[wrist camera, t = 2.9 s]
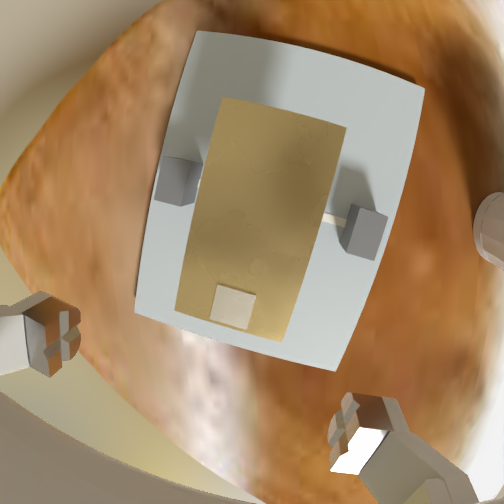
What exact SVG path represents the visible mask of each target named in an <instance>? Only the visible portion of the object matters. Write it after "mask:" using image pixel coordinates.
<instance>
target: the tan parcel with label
mask: <svg viewBox="0 0 504 504" xmlns="http://www.w3.org/2000/svg"><path fill="white" fill-rule="evenodd" d="M346 129H347V127H344V126H341V125H337V124H334V123H331V122H327V121H324V120H321V119H317V118H314V117H310V116H306V115H303V114H299V113H295V112H291V111H287V110H283V109H279V108H275V107H271V106H266V105H262V104H258V103H253V102H248V101H243V100H238V99H233V98H228V97H222V100H221V104H220V108H219V111H218V115H217V118H216V122H215V126H214V130H213V133H212V137H211V141H210V145H209V149H208V153H207V157H206V161H205V165H204V169H203V173H202V177H201V181H200V186H199V190H198V194H197V199H196V203H195V207H194V212H193V216H192V221H191V226H190V230H189V235H188V240H187V245H186V250H185V255H184V260H183V265H182V270H181V275H180V281H179V286H178V291H177V297H176V303H175V308H174V311H177V312H180V313H183V314H186V315H189V316H192V317H195V318H199V319H202V320H205V321H208V322H211V323H215V324H218V325H221V326H224V327H228V328H231V329H234V330H238V331H241V332H245V333H248V334H252V335H255V336H259V337H262V338H266V339H270V340H273V341H277V342H281V343H282V341H283V338H284V336H285V333H286V330H287V327H288V324H289V321H290V318H291V315H292V312H293V309H294V307H295V304H296V301H297V298H298V295H299V291H300V288H301V285H302V282H303V279H304V276H305V273H306V270H307V267H308V264H309V260H310V257H311V254H312V251H313V247H314V244H315V241H316V238H317V234H318V231H319V228H320V224H321V221H322V218H323V214H324V211H325V207H326V204H327V200H328V197H329V193H330V190H331V186H332V182H333V179H334V175H335V171H336V168H337V164H338V160H339V156H340V153H341V149H342V145H343V141H344V137H345V133H346Z"/></svg>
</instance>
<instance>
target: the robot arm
mask: <svg viewBox="0 0 504 504" xmlns="http://www.w3.org/2000/svg"><path fill="white" fill-rule="evenodd" d="M80 322H81V320H80V311H79V309H78V308H76V307H74V306H72V305H70V304H68V303H66V302H64V301H62V300H60V299H58V298H56V297H54V296H52V295H50V294H48V293H46V292H42V291H39V292H37V293H35V294H33V295H31V296H29V297H27V298H25V299H23V300H22V301H20V302H18V303H16V304H14V305H12V306H10V307H9V306H8V305H0V375H4V374H8V373H11V372H15V371H18V370H22V369H26V368H29V366H30V367H32V368H34V369H35V370H37V371H39V372H41V373H42V374H44V375H46V376H48V377H51V376H52V375H53V374H55V373H56V372H57V371H58V370H59V369H60V368H62V361H67V360H71V359H72V358H73V357H74V356H75V354H76V353H77V351H78V349H79V346H80V341H81V334H80V332H79V330H78V328H77V325H78V324H79V323H80ZM341 406H342V410H340V411H339V412H337V413H335V415H334V417H333V418H332V420H331V423H330V426H329V430H328V443H329V444H330V446H331V447H332V448H333V449H332V450H331V452H330V453H329V458H330V468H331V471H337V472H345V473H354V474H358V476H359V478H360V479H361V480H362V482H363V483H364V484H365V486H366V487H367V488H368V490H369V491H370V492H371V494H372V495H373V496H374V498H375V499H376V500H377V501H378V503H379V504H504V497H500V498H497V499H492V500H488V501H484V502H479V501H478V498H477V496H476V494H475V491H474V489H473V487H472V484H471V482H470V480H469V478H468V475H467V474H465V473H464V472H463V471H462V470H460V469H459V468H458V467H456V466H455V465H454V464H453V463H451V462H450V461H449V460H447V459H446V458H445V457H444V456H442V455H441V454H440V453H439V452H437V451H436V450H435V449H434V448H432V447H431V446H430V445H429V444H427V443H426V442H425V441H424V440H422V439H421V438H420V437H419V436H417V435H416V434H415V433H410V431H409V428H408V426H407V423H406V421H405V418H404V416H403V413H402V411H401V409H400V406H399V404H398V401H397V400H396V399H395V398H390V397H381V396H379V397H378V396H371V395H364V394H358V393H351V392H348V393H347V394H346V395H345V396H344V398H343V400H342V402H341ZM0 504H255V503H249V502H245V501H240V500H236V499H231V498H227V497H223V496H219V495H215V494H212V493H208V492H204V491H200V490H197V489H194V488H191V487H187V486H184V485H181V484H178V483H175V482H172V481H169V480H166V479H164V478H161V477H158V476H155V475H153V474H150V473H148V472H145V471H142V470H140V469H138V468H135V467H132V466H130V465H128V464H126V463H123V462H121V461H119V460H117V459H114V458H112V457H110V456H108V455H106V454H104V453H101V452H100V451H98V450H96V449H94V448H92V447H90V446H88V445H86V444H84V443H82V442H80V441H78V440H76V439H75V438H73V437H71V436H69V435H67V434H66V433H64V432H62V431H61V430H59V429H57V428H55V427H54V426H52V425H50V424H49V423H47V422H46V421H44V420H42V419H41V418H39V417H38V416H36V415H35V414H33V413H32V412H30V411H29V410H27V409H26V408H24V407H23V406H21V405H20V404H19V403H17V402H16V401H14V400H13V399H12V398H10V397H9V396H7V395H6V394H5V393H3V392H2V391H1V390H0Z"/></svg>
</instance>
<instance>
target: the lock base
mask: <svg viewBox="0 0 504 504" xmlns="http://www.w3.org/2000/svg"><path fill="white" fill-rule="evenodd" d="M424 92H425V88H422V87H420V86H418V85H415V84H413V83H411V82H408V81H406V80H404V79H401V78H399V77H396V76H393V75H391V74H388V73H386V72H383V71H380V70H377V69H375V68H372V67H369V66H366V65H363V64H360V63H357V62H354V61H351V60H348V59H344V58H341V57H338V56H334V55H331V54H327V53H323V52H320V51H316V50H312V49H308V48H304V47H300V46H295V45H291V44H286V43H281V42H276V41H271V40H266V39H260V38H254V37H248V36H241V35H234V34H226V33H218V32H208V31H197V32H196V35H195V38H194V41H193V44H192V47H191V50H190V53H189V56H188V59H187V62H186V65H185V68H184V71H183V74H182V78H181V81H180V84H179V88H178V91H177V95H176V98H175V102H174V105H173V109H172V112H171V116H170V120H169V124H168V127H167V131H166V135H165V139H164V143H163V148H162V152H161V156H160V160H159V165H158V169H157V174H156V178H155V183H154V188H153V193H152V198H151V203H150V208H149V214H148V219H147V225H146V231H145V237H144V243H143V249H142V256H141V262H140V269H139V277H138V284H137V292H136V301H135V310H134V312H135V313H138V314H140V315H143V316H146V317H149V318H151V319H154V320H157V321H160V322H163V323H165V324H168V325H171V326H174V327H177V328H180V329H183V330H186V331H189V332H192V333H195V334H198V335H201V336H204V337H208V338H211V339H214V340H217V341H221V342H224V343H227V344H231V345H234V346H237V347H241V348H244V349H248V350H251V351H255V352H258V353H262V354H266V355H270V356H273V357H277V358H281V359H285V360H289V361H293V362H297V363H301V364H305V365H309V366H313V367H318V368H322V369H327V370H331V371H336V369H337V367H338V365H339V363H340V361H341V358H342V356H343V354H344V352H345V350H346V347H347V345H348V343H349V341H350V338H351V336H352V334H353V331H354V329H355V327H356V324H357V322H358V319H359V317H360V314H361V312H362V309H363V307H364V304H365V302H366V299H367V297H368V294H369V292H370V289H371V286H372V284H373V281H374V278H375V275H376V273H377V270H378V267H379V264H380V261H381V258H382V256H383V253H384V250H385V247H386V244H387V241H388V238H389V234H390V231H391V228H392V225H393V222H394V218H395V215H396V212H397V208H398V205H399V201H400V198H401V194H402V191H403V187H404V183H405V180H406V176H407V172H408V168H409V164H410V160H411V156H412V151H413V147H414V143H415V138H416V134H417V129H418V124H419V119H420V114H421V109H422V103H423V97H424ZM222 97H228V98H233V99H238V100H243V101H248V102H253V103H258V104H262V105H266V106H271V107H275V108H279V109H283V110H287V111H291V112H295V113H299V114H303V115H306V116H310V117H314V118H317V119H321V120H324V121H327V122H331V123H334V124H337V125H341V126H344V127H347V129H346V133H345V137H344V141H343V145H342V149H341V153H340V156H339V160H338V164H337V168H336V171H335V175H334V179H333V182H332V186H331V190H330V193H329V197H328V200H327V204H326V207H325V211H324V214H323V218H322V221H321V224H320V228H319V231H318V234H317V238H316V241H315V244H314V247H313V251H312V254H311V257H310V260H309V264H308V267H307V270H306V273H305V276H304V279H303V282H302V285H301V288H300V291H299V295H298V298H297V301H296V304H295V307H294V309H293V312H292V315H291V318H290V321H289V324H288V327H287V330H286V333H285V336H284V338H283V341H282V343H281V342H277V341H273V340H270V339H266V338H262V337H259V336H255V335H252V334H248V333H245V332H241V331H238V330H234V329H231V328H228V327H224V326H221V325H218V324H215V323H211V322H208V321H205V320H202V319H199V318H195V317H192V316H189V315H186V314H183V313H180V312H177V311H174V308H175V303H176V297H177V291H178V286H179V281H180V275H181V270H182V265H183V260H184V255H185V250H186V245H187V240H188V235H189V230H190V226H191V221H192V216H193V212H194V207H195V203H196V199H197V194H198V190H199V186H200V181H201V177H202V173H203V169H204V165H205V161H206V157H207V153H208V149H209V145H210V141H211V137H212V133H213V130H214V126H215V122H216V118H217V115H218V111H219V108H220V104H221V100H222Z"/></svg>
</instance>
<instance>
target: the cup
mask: <svg viewBox="0 0 504 504" xmlns="http://www.w3.org/2000/svg"><path fill="white" fill-rule="evenodd" d="M473 237H474V242H475V246H476V248H477V250H478V252H479V254H480V255H481V256H482V257H483V258H484V259H485V260H487V261H489V262H491V263H493V264H495V265H496V266H498V267H499V268H501V269H502V270H503V271H504V193H503V192H496V193H492V194H490V195H489V196H487V197H486V198H485V199H484V200H483V201H482V203H481V204H480V206H479V208H478V210H477V212H476V215H475V219H474V224H473Z"/></svg>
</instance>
